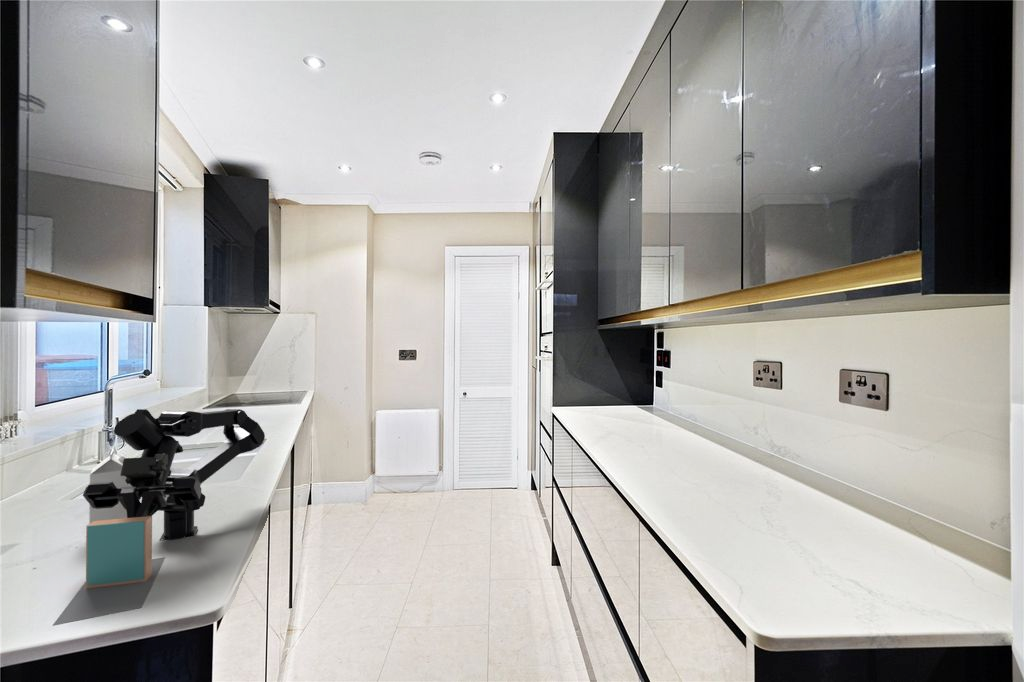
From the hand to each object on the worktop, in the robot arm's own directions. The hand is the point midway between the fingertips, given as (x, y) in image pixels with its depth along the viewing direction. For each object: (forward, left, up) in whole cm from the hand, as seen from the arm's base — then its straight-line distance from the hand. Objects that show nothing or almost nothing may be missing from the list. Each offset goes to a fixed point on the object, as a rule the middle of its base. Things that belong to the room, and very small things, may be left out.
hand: (131, 533), depth 92 cm
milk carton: (-25, -9, -8) cm, 28 cm away
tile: (+5, -1, -7) cm, 8 cm away
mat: (+7, -1, -8) cm, 10 cm away
